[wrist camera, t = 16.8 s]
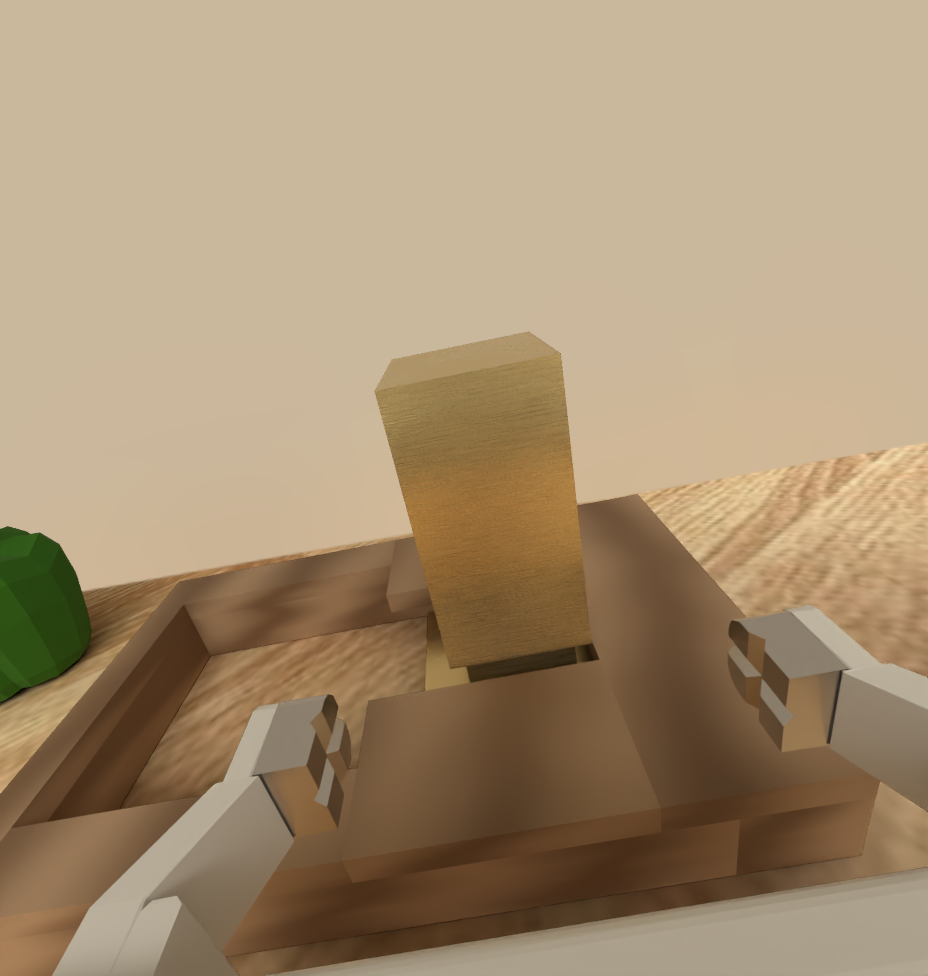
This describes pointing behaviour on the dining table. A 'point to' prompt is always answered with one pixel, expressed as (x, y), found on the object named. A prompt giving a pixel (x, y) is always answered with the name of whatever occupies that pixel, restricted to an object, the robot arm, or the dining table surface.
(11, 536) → the bell pepper
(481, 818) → the walnut keyhole plate
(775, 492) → the dining table surface
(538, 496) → the brass peg
